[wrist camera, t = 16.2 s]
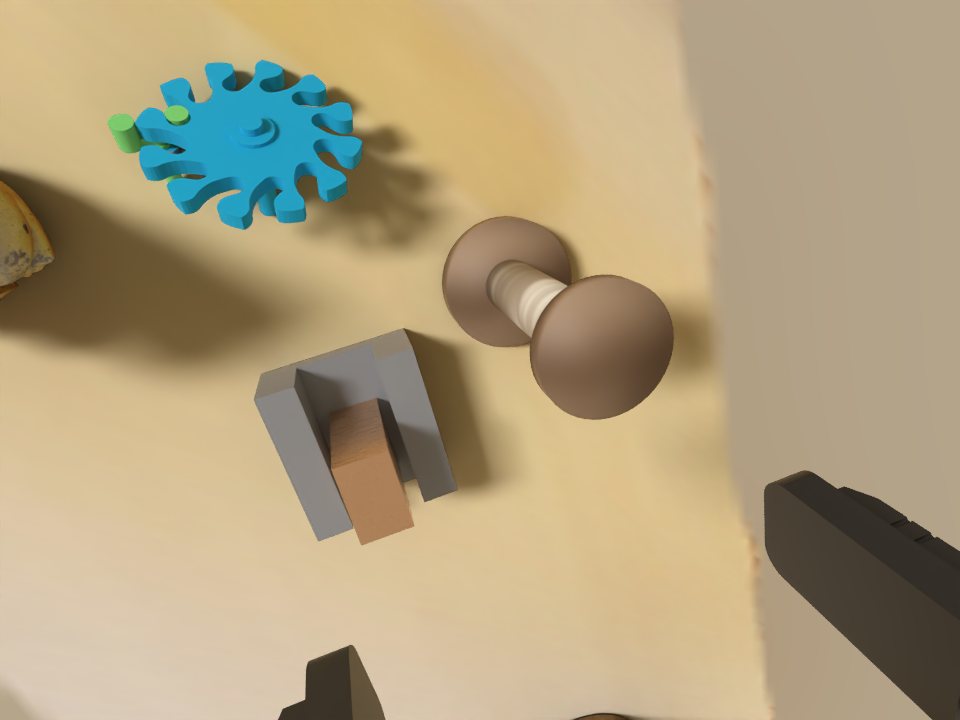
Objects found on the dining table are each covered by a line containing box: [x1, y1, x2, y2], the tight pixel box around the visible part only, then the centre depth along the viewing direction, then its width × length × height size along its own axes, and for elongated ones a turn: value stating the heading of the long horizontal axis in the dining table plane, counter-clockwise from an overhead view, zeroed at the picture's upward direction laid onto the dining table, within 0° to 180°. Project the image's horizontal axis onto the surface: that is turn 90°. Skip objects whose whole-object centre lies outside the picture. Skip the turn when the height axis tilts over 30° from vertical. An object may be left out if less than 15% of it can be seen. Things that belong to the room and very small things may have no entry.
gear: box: [108, 60, 362, 230], centre depth 28 cm, size 11×6×10 cm
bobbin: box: [442, 216, 674, 420], centre depth 30 cm, size 8×8×14 cm
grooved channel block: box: [254, 328, 457, 541], centre depth 35 cm, size 10×9×4 cm
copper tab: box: [330, 398, 414, 545], centre depth 33 cm, size 5×3×7 cm, turn 13°
